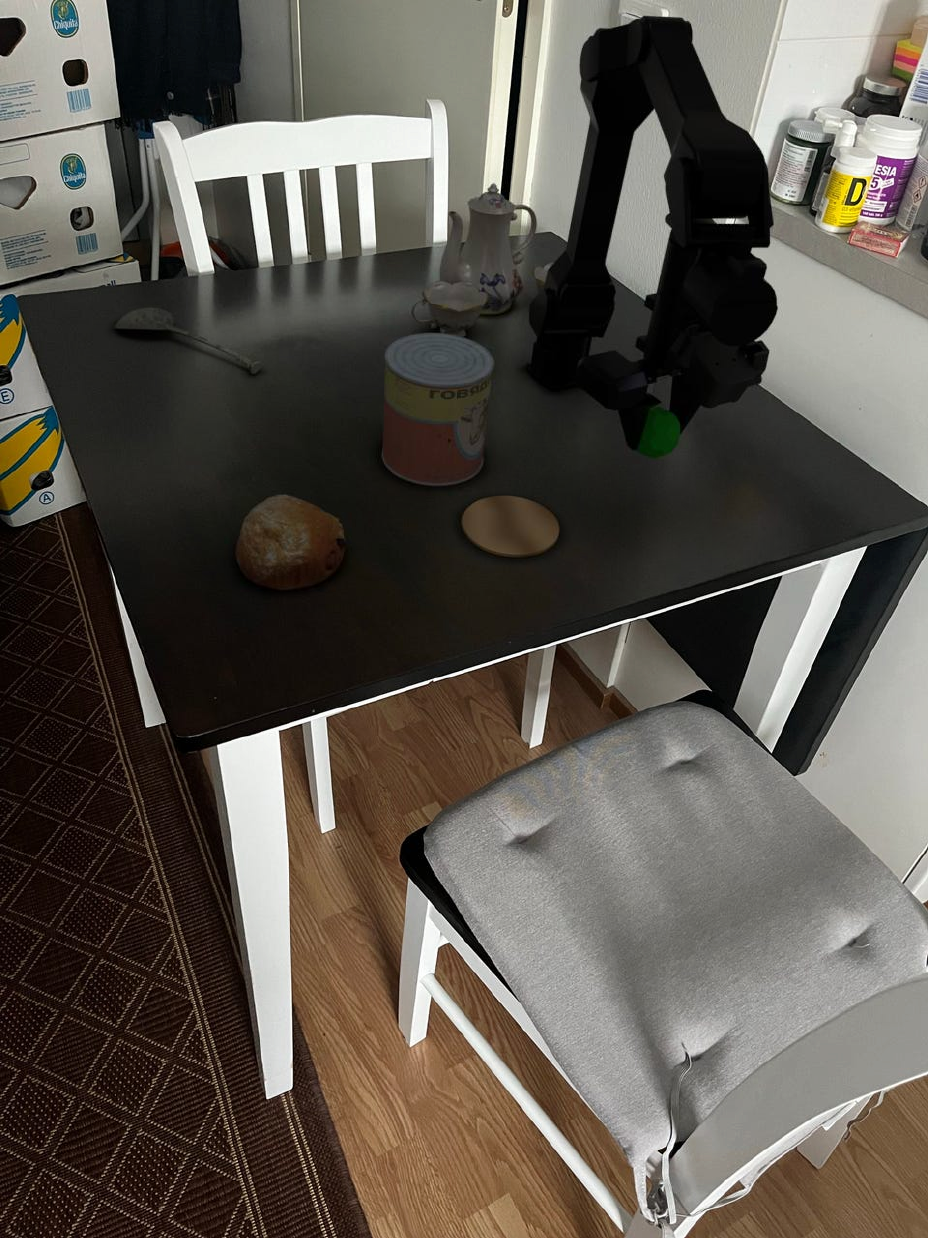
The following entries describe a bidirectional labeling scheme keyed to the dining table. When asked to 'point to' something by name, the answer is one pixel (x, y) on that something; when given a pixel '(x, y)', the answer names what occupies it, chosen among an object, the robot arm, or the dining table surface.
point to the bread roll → (289, 544)
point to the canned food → (435, 408)
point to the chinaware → (479, 266)
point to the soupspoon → (173, 330)
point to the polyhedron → (659, 433)
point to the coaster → (510, 526)
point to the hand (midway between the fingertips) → (652, 442)
